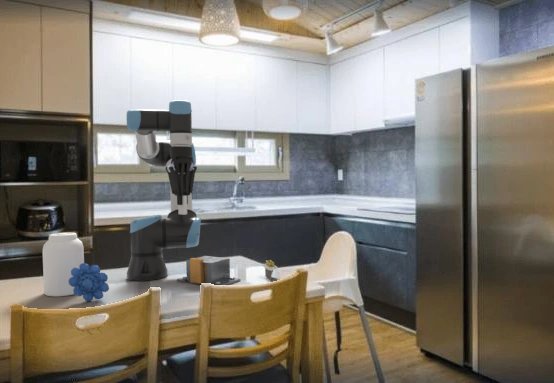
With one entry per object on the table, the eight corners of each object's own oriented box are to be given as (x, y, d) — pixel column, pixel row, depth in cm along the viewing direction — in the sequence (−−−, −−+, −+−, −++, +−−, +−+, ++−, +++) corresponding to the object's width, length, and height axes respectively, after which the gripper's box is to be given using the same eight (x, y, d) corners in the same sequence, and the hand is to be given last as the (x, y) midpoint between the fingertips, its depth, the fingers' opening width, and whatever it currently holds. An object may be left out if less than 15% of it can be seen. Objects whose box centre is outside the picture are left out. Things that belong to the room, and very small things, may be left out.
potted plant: (279, 273, 175) (278, 256, 175) (293, 283, 158) (292, 265, 158) (249, 275, 172) (249, 258, 172) (260, 286, 155) (260, 267, 154)
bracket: (176, 281, 163) (176, 259, 162) (199, 275, 173) (199, 254, 172) (218, 287, 152) (218, 264, 151) (240, 280, 162) (239, 258, 161)
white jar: (82, 295, 145) (80, 234, 145) (40, 298, 142) (37, 236, 141) (87, 286, 157) (85, 230, 157) (48, 289, 154) (46, 232, 153)
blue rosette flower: (66, 306, 133) (64, 266, 132) (70, 300, 139) (69, 262, 139) (107, 303, 135) (106, 264, 135) (110, 297, 142) (109, 260, 142)
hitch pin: (190, 281, 158) (189, 258, 158) (219, 273, 171) (218, 251, 171) (200, 283, 155) (200, 259, 155) (229, 274, 168) (228, 252, 168)
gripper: (174, 145, 146) (176, 216, 147) (202, 146, 157) (203, 212, 158) (159, 146, 150) (161, 215, 151) (186, 147, 161) (188, 211, 162)
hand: (182, 214), depth 155 cm, fingers closed
